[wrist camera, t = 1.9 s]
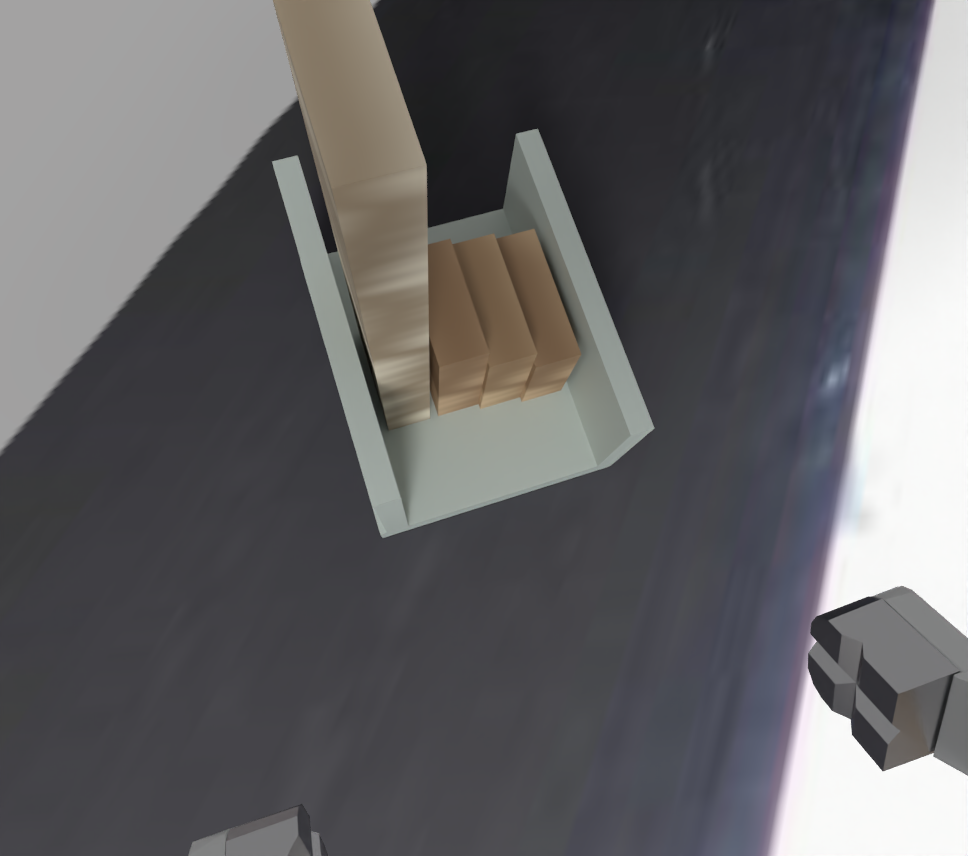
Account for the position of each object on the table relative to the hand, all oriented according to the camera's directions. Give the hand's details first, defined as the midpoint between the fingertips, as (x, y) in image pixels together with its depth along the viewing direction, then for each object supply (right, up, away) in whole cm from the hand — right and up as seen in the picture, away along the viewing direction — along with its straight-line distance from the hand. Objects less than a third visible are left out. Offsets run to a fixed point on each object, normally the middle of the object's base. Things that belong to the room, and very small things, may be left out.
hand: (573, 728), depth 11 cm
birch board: (-6, +7, +24) cm, 25 cm away
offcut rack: (-3, +7, +26) cm, 27 cm away
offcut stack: (-1, +8, +24) cm, 26 cm away
